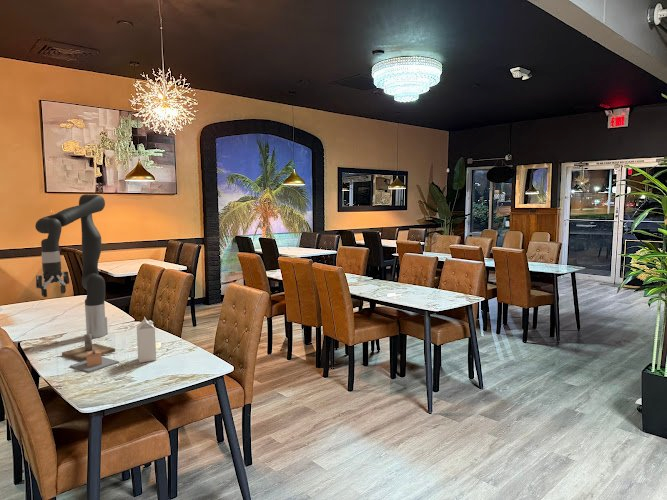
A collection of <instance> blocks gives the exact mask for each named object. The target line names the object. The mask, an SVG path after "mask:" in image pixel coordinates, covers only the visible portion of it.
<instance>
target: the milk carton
mask: <svg viewBox="0 0 667 500" xmlns="http://www.w3.org/2000/svg"><path fill="white" fill-rule="evenodd" d="M143 317H144V318H143V320H142V321H141V322H139V324H137V326H136V340H137V341H136V342H137V359H138V363H147V362H151V361H152V362H153V361H157V350H156V349H157V347H156V344H157V343H156V327H155V326H154V321H152V320H151V319H149V320H147V318H146V317H145V316H143Z"/></svg>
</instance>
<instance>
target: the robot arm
mask: <svg viewBox="0 0 667 500" xmlns="http://www.w3.org/2000/svg"><path fill="white" fill-rule="evenodd" d="M105 206H106V200H105V198H104V197H103V196H102V195H101V194H92V193H91V194H87V193H86V194H82V195H81V196H79V199H78V204H77V205H75V206H70V207H68V208H65V209H63V210H61V211H58V212H56V213H55V214H50V215H47V216H44V217H42V218H39V219H37V221H36V222H35V225H34V226H35V230H36V231H37V232H38V233H40V234H48V235H47V238H43V239H42V240H41V242H40V247H41V265H42V272H43V274H42V275H39V274H38V275H35V283H36V284H35V286H36V289H40V290H41V296H42V297H43V298H47V297H48V290H47V287H48V286H49V285H50V284H53V283H59V285H60V286H59V288H60V294H63V295H64V294H66V291H67V290H66V289H67V288H66V286H67V285H68V284H70V277H69V272H68V271H66V270H64V271H62V261H61V260H62V259H61V254H60V238H61V235H62V228H63V227H66V226H68V225H70V224H71V223H74V222H75V221H77V220H79V219H80V224H81V250H82V252H81V253H82V255H81V256H82V275H81V285H82V287H83V289H85V290H86V298H85V300H84V311H85V313H84V314H85V329H86V334H92V338H93V339H94V338H101V337H104V336H106V335H109V334H108V333H109V332H108V317H107V316H106V309H105V307H106V306H105V300H106V281H105V278H104V277H103V276H102V275H100V274H99V268H98V265H99V260H100V256H101V253H102V236H101V234H100V231H99V229H98V228H97V227H96V225H95V223H94V220H93V214H95V213H100V212H101V211H103V210H104V208H105ZM62 277H63V278H62ZM43 279H44V280H43Z"/></svg>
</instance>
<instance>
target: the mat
mask: <svg viewBox="0 0 667 500" xmlns="http://www.w3.org/2000/svg"><path fill="white" fill-rule="evenodd" d="M119 363H120V361H119V360H116V359H111V358H108V357H104V356H102V364H100V365H94V366H88V367H87V360H85V361H80V362H76V363H74V364H70V365H69V367H70V368H72V369H75V370H79V371H82V372H85V373H93V372H95V371H99V370H101V369H104V368H108V367H111V366H113V365H117V364H119Z"/></svg>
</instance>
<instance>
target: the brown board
mask: <svg viewBox="0 0 667 500" xmlns="http://www.w3.org/2000/svg"><path fill="white" fill-rule="evenodd" d="M83 339H84V346H80V347H77V348H74V349H70V350H66V351H63V352H61V356H62V357H64V358H65V357H66V358H69V359H73V360H76V361H80V362H83V361H86V360H87V357H86V352H87V351H93V350H101V355H102V356H104V355H109V354H111V353H114V352H116V348H114V347H110V346H107V345H103V344H99V343H93V340H92V334H87V333H86V334H84V335H83Z"/></svg>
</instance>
